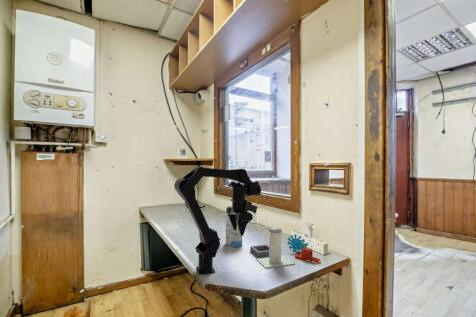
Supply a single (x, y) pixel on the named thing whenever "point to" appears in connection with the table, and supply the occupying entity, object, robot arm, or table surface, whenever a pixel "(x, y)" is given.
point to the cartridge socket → (260, 250)
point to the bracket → (307, 255)
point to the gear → (296, 243)
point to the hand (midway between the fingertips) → (238, 232)
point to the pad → (268, 264)
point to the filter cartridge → (275, 245)
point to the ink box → (232, 235)
